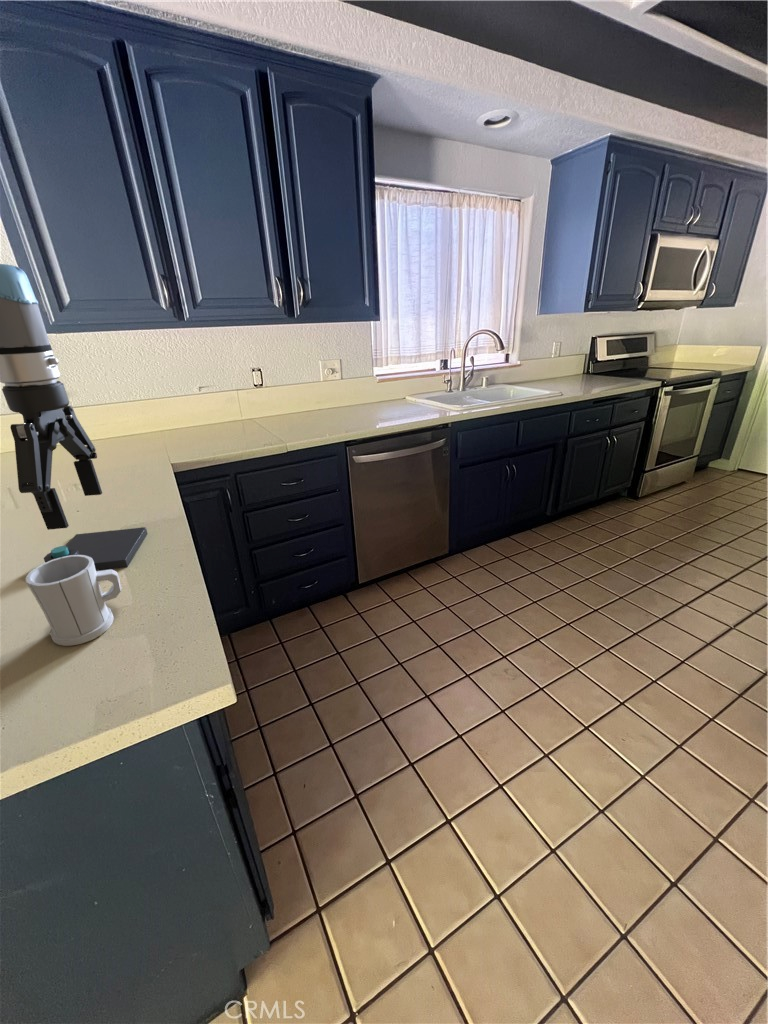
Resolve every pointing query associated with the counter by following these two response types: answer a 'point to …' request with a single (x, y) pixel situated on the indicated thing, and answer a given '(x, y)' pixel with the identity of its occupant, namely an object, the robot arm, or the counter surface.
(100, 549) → the scale
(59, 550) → the scale button
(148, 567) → the counter surface
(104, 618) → the cup
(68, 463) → the counter surface
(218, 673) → the counter surface
